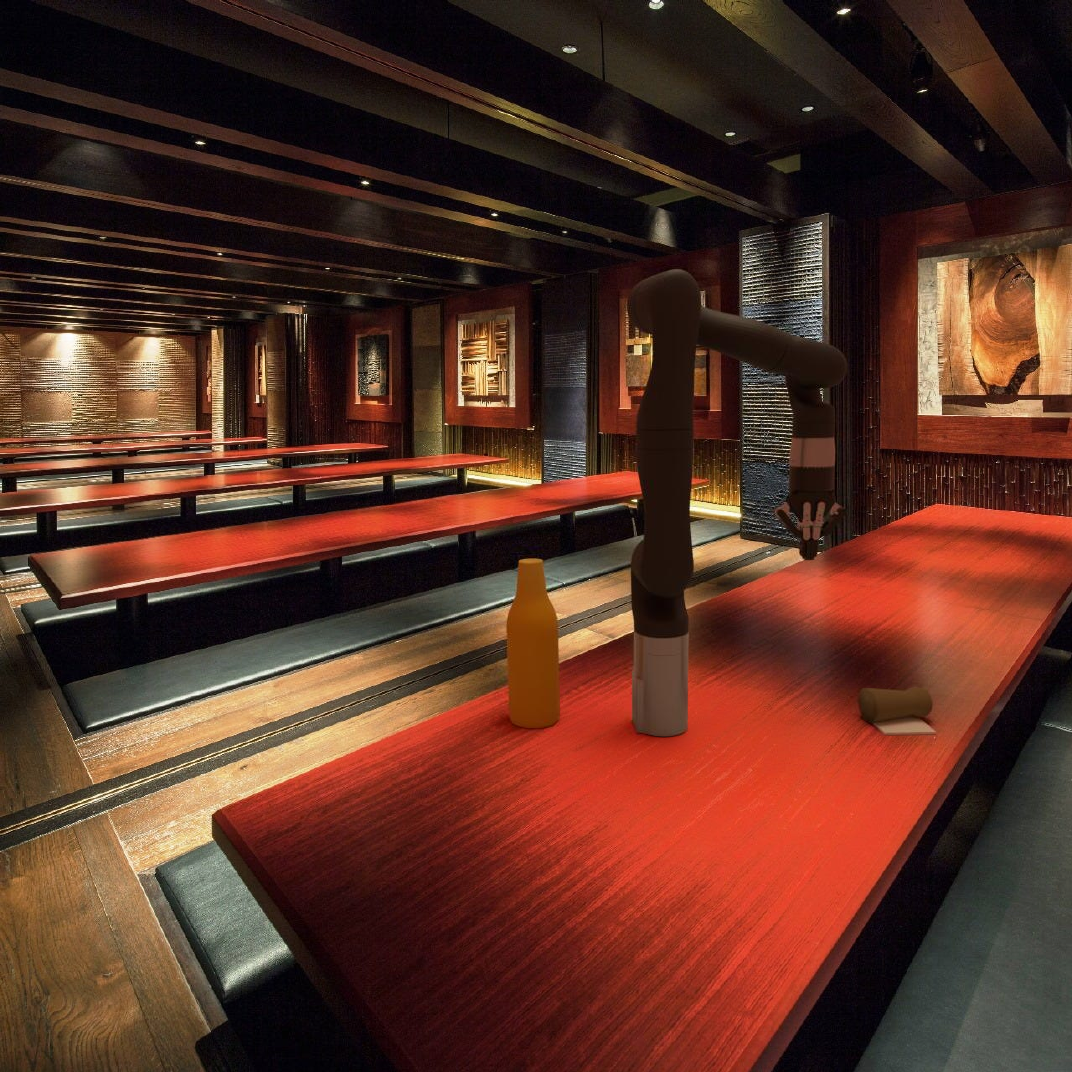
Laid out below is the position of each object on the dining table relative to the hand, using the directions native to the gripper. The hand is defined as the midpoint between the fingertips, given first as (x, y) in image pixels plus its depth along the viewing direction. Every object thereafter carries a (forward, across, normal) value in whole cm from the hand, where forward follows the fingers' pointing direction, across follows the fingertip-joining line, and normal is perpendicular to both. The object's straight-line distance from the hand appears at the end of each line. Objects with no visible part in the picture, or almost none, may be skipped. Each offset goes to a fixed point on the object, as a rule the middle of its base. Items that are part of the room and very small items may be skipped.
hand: (808, 559), depth 135 cm
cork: (+24, +8, -10) cm, 27 cm away
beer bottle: (+27, -50, -6) cm, 57 cm away
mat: (+27, +13, -10) cm, 31 cm away
